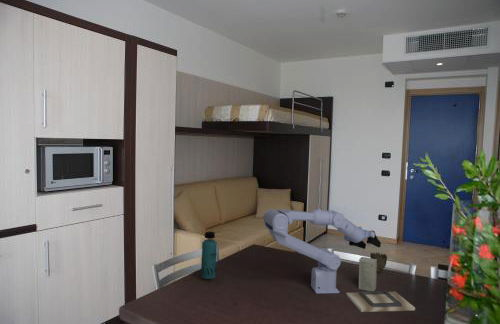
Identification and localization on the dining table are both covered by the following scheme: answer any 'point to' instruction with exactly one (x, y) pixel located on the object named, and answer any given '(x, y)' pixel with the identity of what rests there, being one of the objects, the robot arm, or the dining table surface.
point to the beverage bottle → (209, 256)
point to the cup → (379, 260)
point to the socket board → (379, 301)
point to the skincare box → (367, 273)
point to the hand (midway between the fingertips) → (372, 245)
